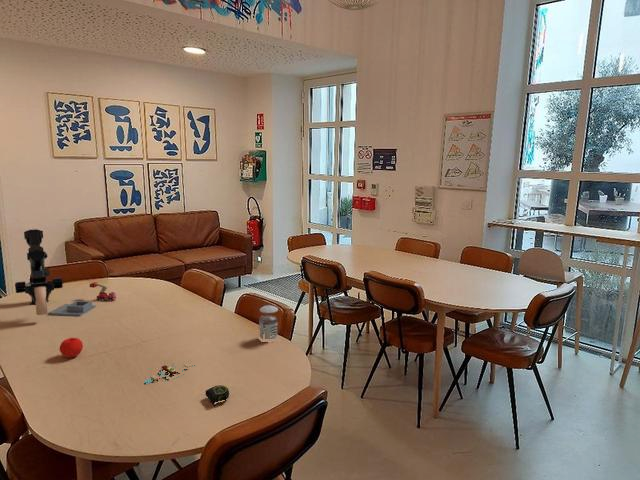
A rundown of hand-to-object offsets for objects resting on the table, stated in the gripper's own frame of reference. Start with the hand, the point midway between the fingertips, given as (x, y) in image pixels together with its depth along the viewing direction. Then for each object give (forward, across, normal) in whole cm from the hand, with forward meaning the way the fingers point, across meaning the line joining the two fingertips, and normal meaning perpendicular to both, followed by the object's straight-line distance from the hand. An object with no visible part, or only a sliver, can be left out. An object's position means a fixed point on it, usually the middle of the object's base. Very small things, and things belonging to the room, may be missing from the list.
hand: (41, 300), depth 200 cm
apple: (+40, +8, -24) cm, 47 cm away
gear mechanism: (+64, +36, -48) cm, 88 cm away
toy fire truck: (-9, +29, +25) cm, 40 cm away
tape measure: (+82, +44, -67) cm, 115 cm away
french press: (+57, +82, -41) cm, 108 cm away
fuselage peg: (+4, 0, +6) cm, 7 cm away
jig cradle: (-1, +13, +17) cm, 22 cm away
